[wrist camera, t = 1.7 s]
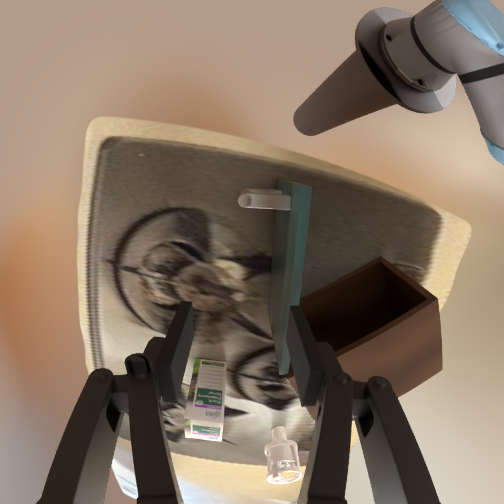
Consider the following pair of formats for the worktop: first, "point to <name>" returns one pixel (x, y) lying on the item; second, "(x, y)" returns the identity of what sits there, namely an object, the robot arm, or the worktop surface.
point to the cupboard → (377, 327)
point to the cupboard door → (284, 253)
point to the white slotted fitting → (282, 457)
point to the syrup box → (206, 400)
